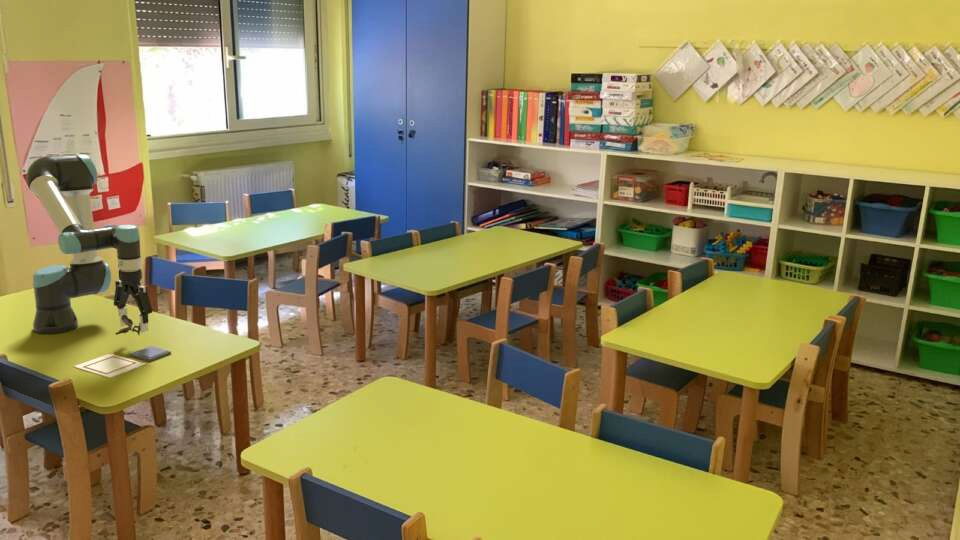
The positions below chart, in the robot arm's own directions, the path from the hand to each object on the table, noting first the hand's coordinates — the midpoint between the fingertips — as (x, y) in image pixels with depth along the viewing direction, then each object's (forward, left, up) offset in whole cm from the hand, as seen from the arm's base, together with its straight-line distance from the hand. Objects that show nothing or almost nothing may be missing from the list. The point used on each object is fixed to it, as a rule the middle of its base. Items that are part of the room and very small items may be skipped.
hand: (134, 328), depth 284 cm
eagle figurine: (0, -2, -2) cm, 3 cm away
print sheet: (+10, -18, -6) cm, 22 cm away
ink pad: (+13, -4, -6) cm, 15 cm away
